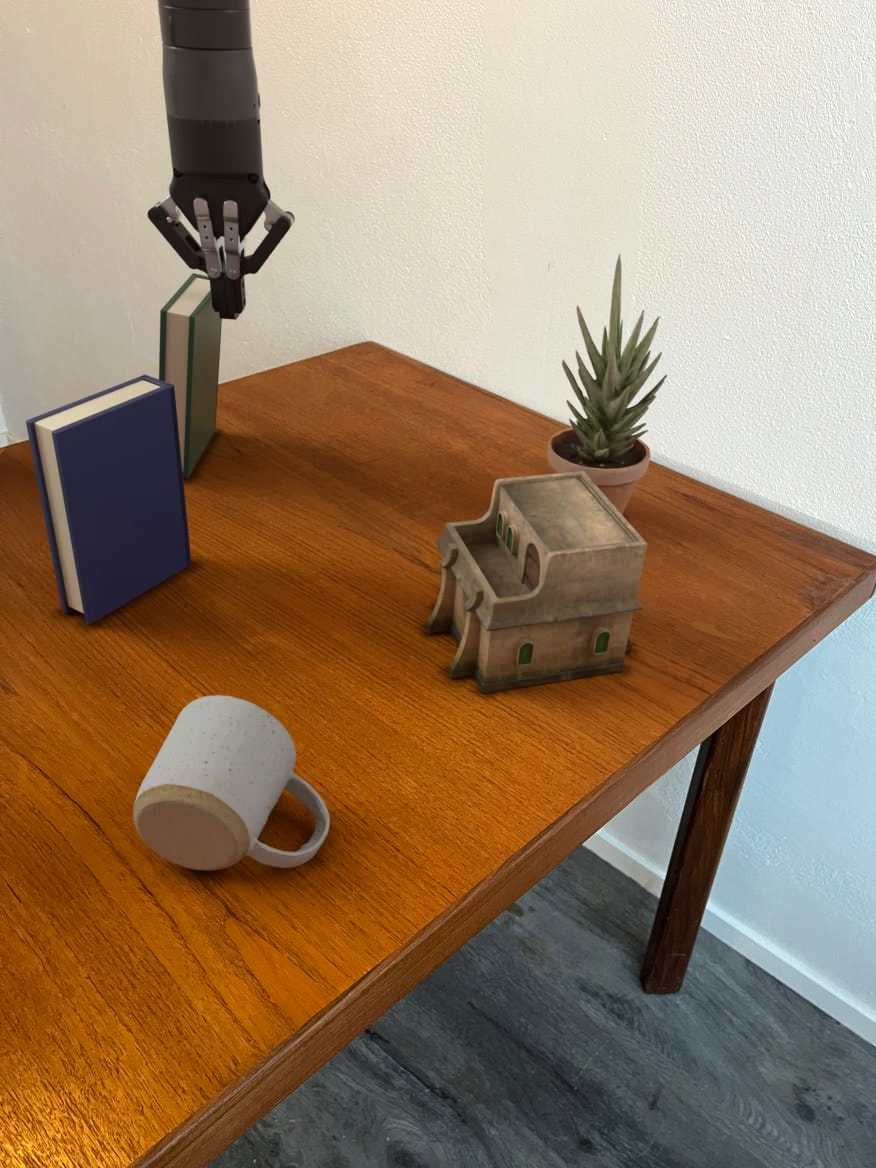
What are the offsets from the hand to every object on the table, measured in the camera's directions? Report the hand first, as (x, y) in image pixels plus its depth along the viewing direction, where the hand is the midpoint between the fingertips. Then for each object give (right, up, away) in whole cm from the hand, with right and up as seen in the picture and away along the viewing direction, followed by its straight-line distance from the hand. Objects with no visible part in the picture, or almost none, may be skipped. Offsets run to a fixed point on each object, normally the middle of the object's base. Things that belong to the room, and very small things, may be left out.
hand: (230, 316), depth 93 cm
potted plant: (+33, -18, +4) cm, 38 cm away
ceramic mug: (+8, -42, -31) cm, 53 cm away
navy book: (-3, -20, -17) cm, 26 cm away
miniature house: (+27, -29, -12) cm, 41 cm away
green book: (-3, -5, +4) cm, 7 cm away
